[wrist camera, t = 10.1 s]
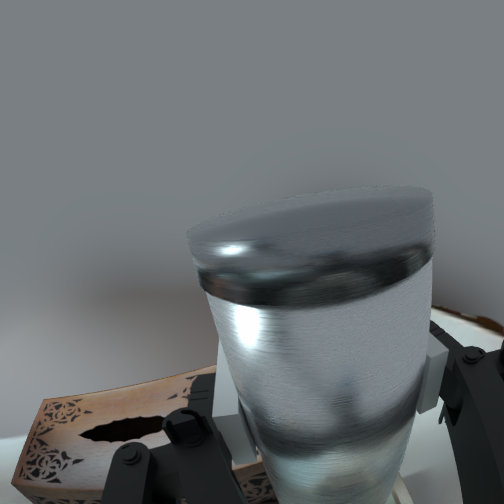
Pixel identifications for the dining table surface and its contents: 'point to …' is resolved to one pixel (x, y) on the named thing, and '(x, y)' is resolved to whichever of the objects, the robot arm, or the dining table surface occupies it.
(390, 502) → the board
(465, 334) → the dining table surface
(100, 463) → the tissue box cover
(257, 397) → the canister
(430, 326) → the robot arm
